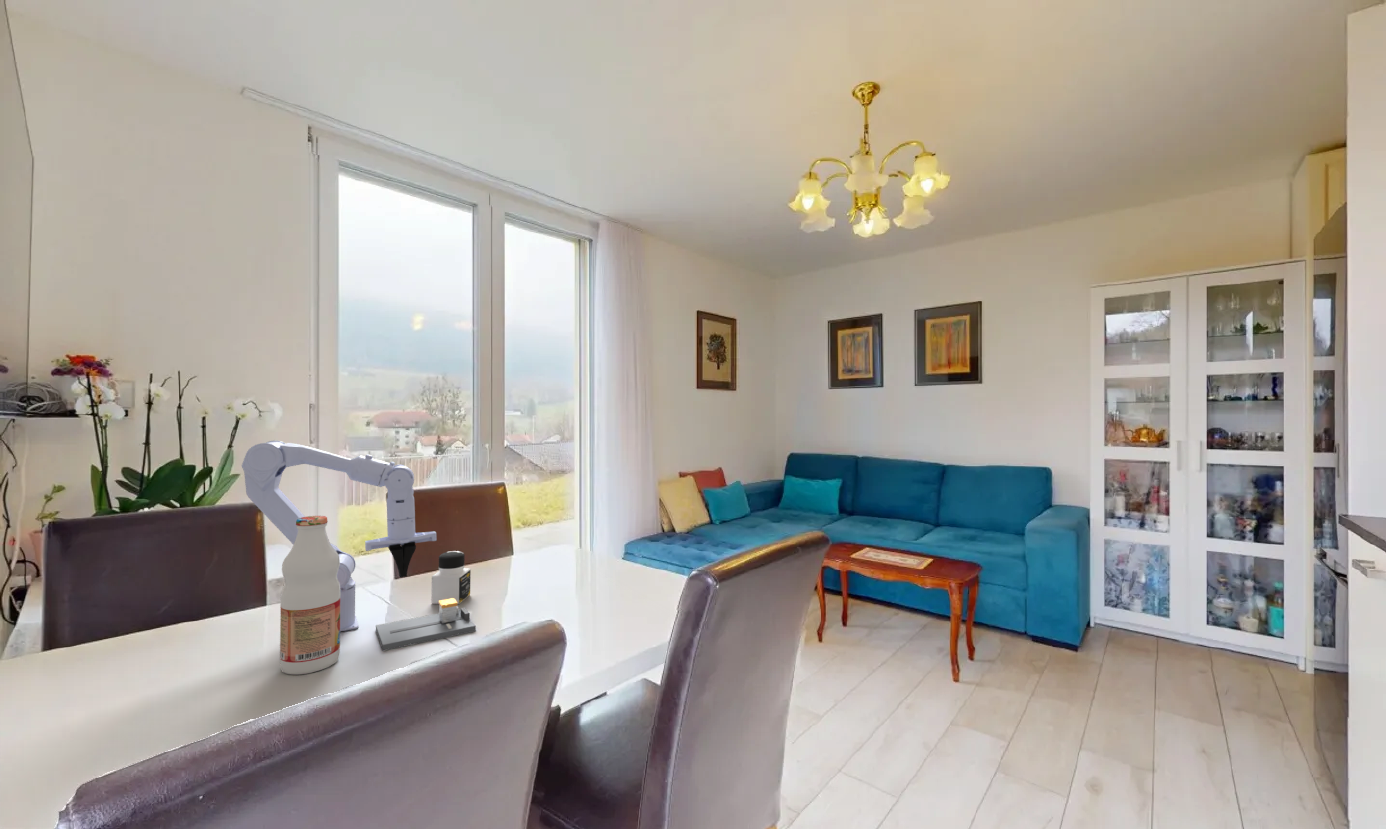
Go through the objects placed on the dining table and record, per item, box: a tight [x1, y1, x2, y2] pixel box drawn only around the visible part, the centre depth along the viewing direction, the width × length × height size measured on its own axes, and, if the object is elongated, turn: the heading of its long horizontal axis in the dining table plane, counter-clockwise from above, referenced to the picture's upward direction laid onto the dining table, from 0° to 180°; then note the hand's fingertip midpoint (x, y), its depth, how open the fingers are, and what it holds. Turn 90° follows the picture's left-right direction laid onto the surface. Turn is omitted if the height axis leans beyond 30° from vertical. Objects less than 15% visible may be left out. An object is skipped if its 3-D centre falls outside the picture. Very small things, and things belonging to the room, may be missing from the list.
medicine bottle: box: [430, 550, 472, 605], centre depth 142 cm, size 7×7×12 cm
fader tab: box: [438, 598, 458, 623], centre depth 124 cm, size 3×4×4 cm
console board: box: [375, 605, 477, 651], centre depth 122 cm, size 18×12×3 cm, turn 126°
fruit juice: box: [279, 515, 341, 676], centre depth 105 cm, size 9×9×28 cm
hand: (402, 576), depth 129 cm, fingers closed
